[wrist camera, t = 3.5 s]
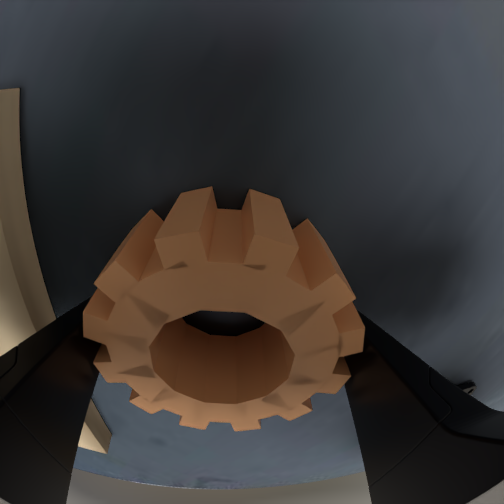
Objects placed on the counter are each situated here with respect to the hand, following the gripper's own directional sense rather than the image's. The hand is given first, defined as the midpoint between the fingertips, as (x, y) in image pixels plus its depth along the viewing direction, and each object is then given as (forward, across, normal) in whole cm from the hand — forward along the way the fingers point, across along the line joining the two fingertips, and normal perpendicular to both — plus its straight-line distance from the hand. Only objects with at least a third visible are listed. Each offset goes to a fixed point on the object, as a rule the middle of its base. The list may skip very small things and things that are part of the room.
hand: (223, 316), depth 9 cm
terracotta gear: (+1, 0, 0) cm, 1 cm away
